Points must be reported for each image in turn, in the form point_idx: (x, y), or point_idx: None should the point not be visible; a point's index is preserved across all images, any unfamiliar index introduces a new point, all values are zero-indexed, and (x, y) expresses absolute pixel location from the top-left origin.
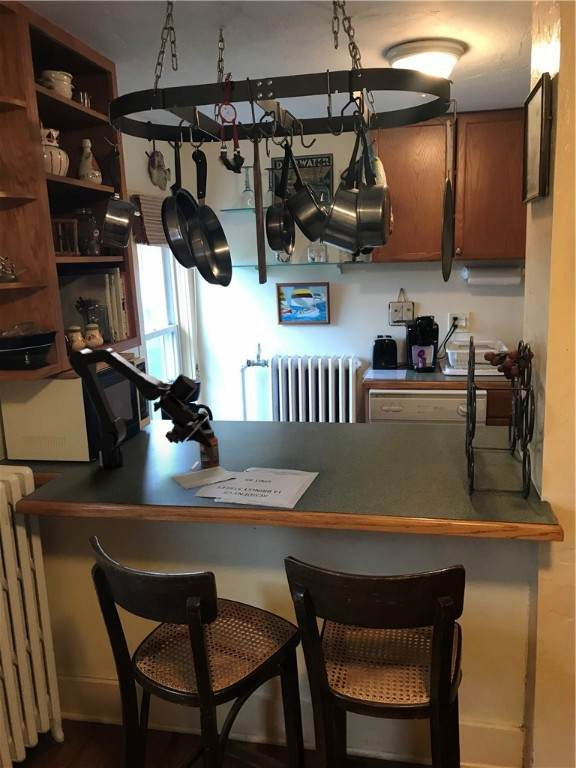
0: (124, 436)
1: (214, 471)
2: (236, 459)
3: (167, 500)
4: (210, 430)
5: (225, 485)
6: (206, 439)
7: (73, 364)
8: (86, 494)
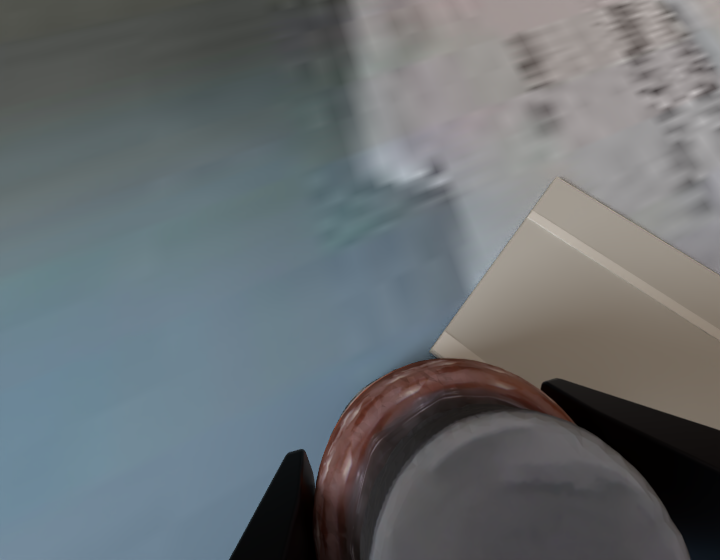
0: None
1: (533, 335)
2: (242, 315)
3: None
4: (444, 544)
5: (666, 188)
6: (703, 431)
7: None
8: None
